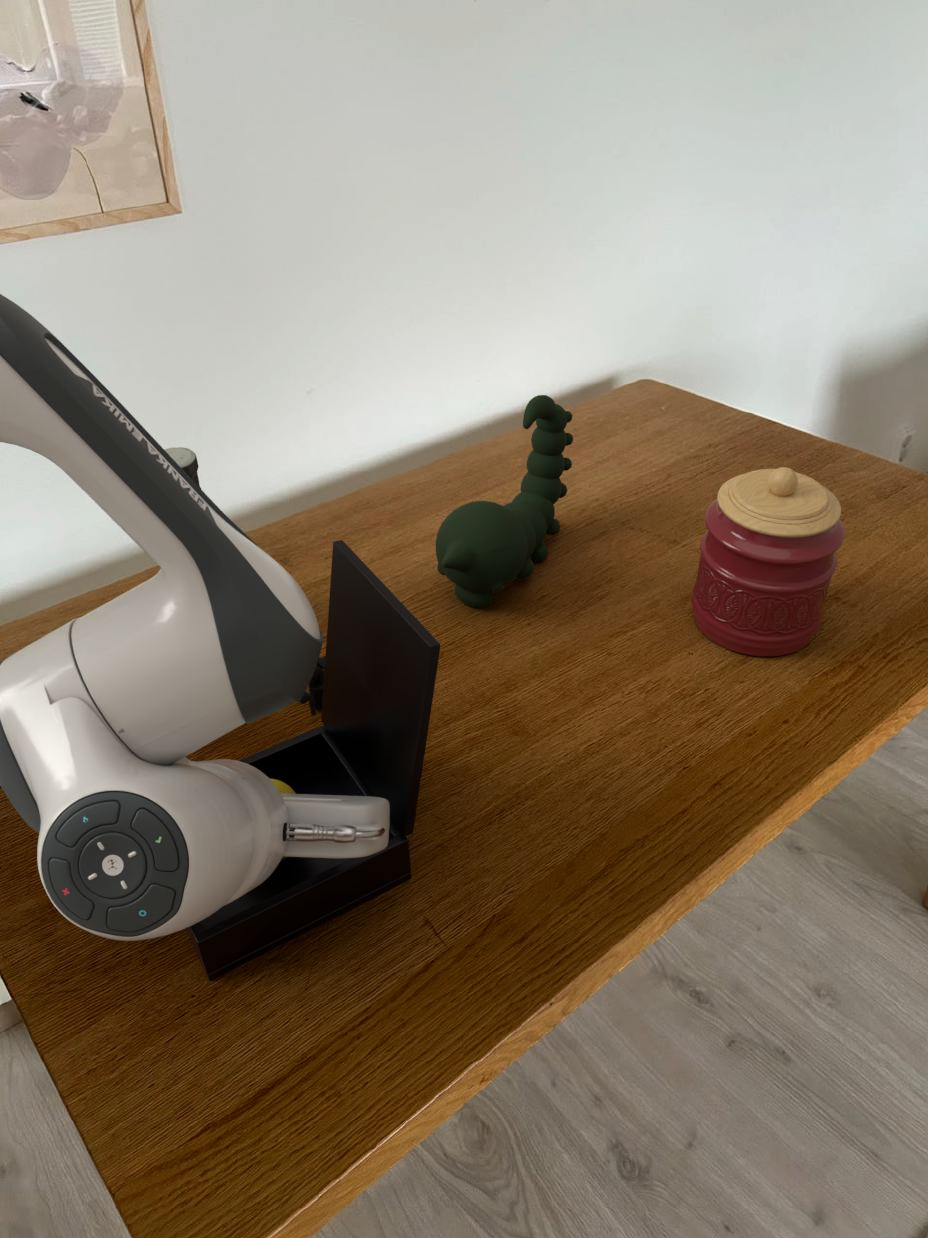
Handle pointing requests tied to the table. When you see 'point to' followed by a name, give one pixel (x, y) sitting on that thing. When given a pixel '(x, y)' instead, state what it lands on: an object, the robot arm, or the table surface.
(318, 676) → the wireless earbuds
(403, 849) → the black box base
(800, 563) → the kitchen canister
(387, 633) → the lid
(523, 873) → the table surface
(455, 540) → the toy figurine
